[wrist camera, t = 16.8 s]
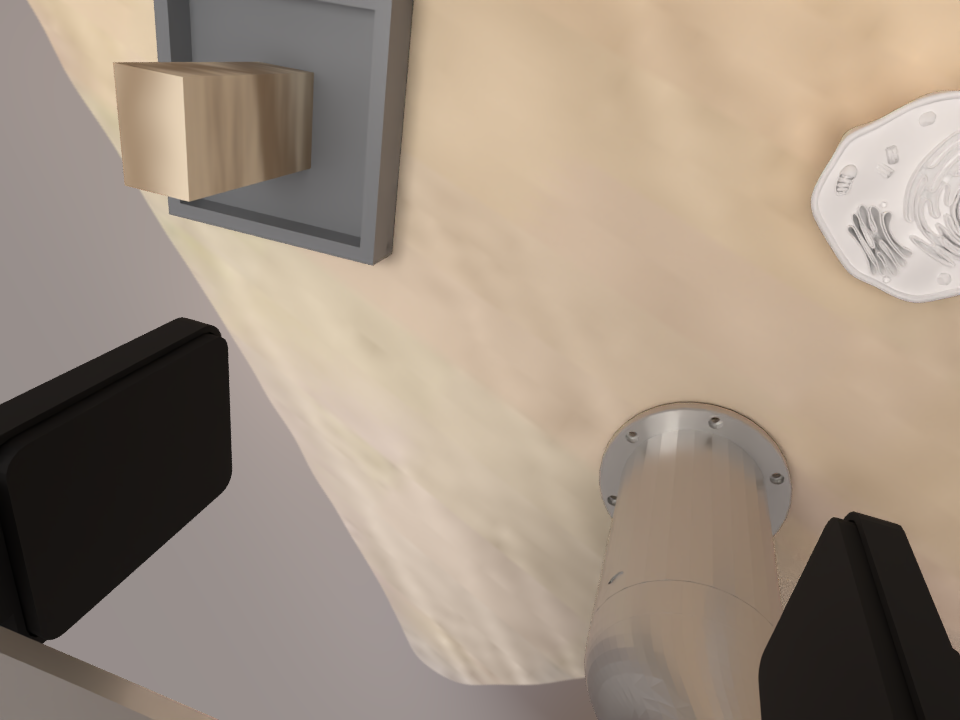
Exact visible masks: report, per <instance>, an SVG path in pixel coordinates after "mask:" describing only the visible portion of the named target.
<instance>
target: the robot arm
mask: <svg viewBox="0 0 960 720" xmlns="http://www.w3.org/2000/svg"><path fill="white" fill-rule="evenodd" d="M229 395H230V393H229V364H228V346H227V342H226V340H225V339H224V338H222V337H221V333H220V332H219V330H218V329H217V328H216V327H215V326H212V325H209V324H205V323H202V322H198V321H195V320H191V319H188V318H183V317H181V318H177V319H175V320H173V321H171V322H169V323H167V324H164V325H162V326H161V327H158V328H157V329H154V330H152V331H150V332H148V333H146V334H144V335H142V336H140V337H138V338H136V339H134V340H132V341H130V342H128V343H126V344H124V345H121V346H119V347H118V348H115V349H113V350H111V351H109V352H107V353H105V354H103V355H101V356H99V357H97V358H95V359H93V360H91V361H89V362H87V363H84V364H82V365H80V366H79V367H76V368H74V369H72V370H70V371H68V372H66V373H64V374H62V375H60V376H58V377H56V378H54V379H52V380H50V381H48V382H45V383H43V384H41V385H39V386H37V387H35V388H33V389H31V390H29V391H27V392H25V393H23V394H21V395H19V396H17V397H15V398H13V399H11V400H9V401H7V402H4V403H3V404H1V405H0V720H218V719H216V718H213V717H211V716H209V715H207V714H204V713H202V712H200V711H197V710H195V709H193V708H190V707H188V706H186V705H183V704H181V703H179V702H177V701H174V700H172V699H169V698H167V697H165V696H163V695H161V694H158V693H156V692H153V691H151V690H149V689H147V688H144V687H142V686H140V685H137V684H135V683H132V682H130V681H128V680H126V679H123V678H121V677H119V676H116V675H114V674H112V673H109V672H107V671H105V670H102V669H100V668H98V667H95V666H93V665H91V664H88V663H86V662H84V661H81V660H79V659H77V658H74V657H72V656H70V655H67V654H65V653H63V652H60V651H58V650H55V649H53V648H51V647H48V646H46V645H44V644H43V643H44V642H45V641H46V640H53V639H55V638H58V637H60V636H61V635H62V634H64V633H65V632H66V631H67V630H68V629H69V628H71V627H72V626H73V625H74V624H75V623H76V622H77V621H78V620H80V619H81V618H82V617H83V616H84V615H85V614H86V613H87V612H88V611H90V610H91V609H92V608H93V607H94V606H95V605H96V604H98V603H99V602H100V601H101V600H102V599H103V598H104V597H105V596H107V595H108V594H109V593H110V592H111V591H112V590H113V589H114V588H116V587H117V586H118V585H119V584H120V583H121V582H122V581H123V580H125V579H126V578H127V577H128V576H129V575H130V574H131V573H132V572H134V570H136V569H137V568H138V567H139V566H140V565H141V564H142V563H144V562H145V561H146V560H147V559H148V558H149V557H150V556H151V555H152V554H154V553H155V552H156V551H157V550H158V549H159V548H160V547H162V546H163V545H164V544H165V543H166V542H167V541H168V540H169V539H170V538H172V537H173V536H174V535H175V534H176V533H177V532H178V531H180V530H181V529H182V528H183V527H184V526H185V525H186V524H187V523H189V521H191V520H192V519H193V518H194V517H195V516H196V515H197V514H199V513H200V512H201V511H202V510H203V509H204V508H205V507H207V505H209V504H210V503H211V502H212V501H213V500H214V499H216V498H217V497H218V496H219V495H220V494H221V493H222V492H223V491H224V490H225V489H226V487H227V485H228V483H229V481H230V478H231V475H232V454H231V453H232V452H231V424H230V423H231V422H230V396H229ZM713 417H718V418H719V419H717V420H715V419H712V418H713ZM631 432H635V434H633V433H631ZM774 473H778V474H774ZM599 486H600V491H601V496H602V500H603V502H604V504H605V507H606V509H607V512H608V513H609V515H610V516H611V518H612V523H611V528H610V533H609V538H608V542H607V547H606V552H605V557H604V561H603V566H602V571H601V576H600V580H599V585H598V590H597V595H596V599H595V604H594V609H593V614H592V618H591V623H590V628H589V633H588V638H587V643H586V649H585V659H584V666H585V679H586V684H587V689H588V693H589V697H590V701H591V704H592V707H593V709H594V711H595V714H596V716H597V719H598V720H960V655H959V653H958V652H957V651H956V650H955V649H953V648H952V645H951V643H950V641H949V638H948V636H947V633H946V631H945V629H944V626H943V624H942V621H941V619H940V616H939V614H938V612H937V609H936V607H935V604H934V602H933V600H932V597H931V595H930V592H929V590H928V587H927V585H926V583H925V580H924V578H923V575H922V573H921V570H920V568H919V566H918V563H917V561H916V558H915V556H914V554H913V551H912V549H911V546H910V544H909V541H908V539H907V537H906V534H905V532H904V530H903V528H902V527H901V526H900V525H898V524H895V523H892V522H888V521H885V520H881V519H878V518H874V517H871V516H867V515H864V514H861V513H857V512H854V511H853V512H850V513H849V514H848V515H847V516H846V517H845V518H844V520H843V519H839V518H836V517H833V518H831V519H830V520H829V521H828V523H827V524H826V526H825V528H824V530H823V532H822V534H821V536H820V538H819V540H818V542H817V544H816V546H815V548H814V550H813V552H812V554H811V556H810V559H809V561H808V563H807V565H806V567H805V569H804V571H803V573H802V575H801V577H800V579H799V581H798V583H797V585H796V587H795V589H794V591H793V593H792V595H791V597H790V599H789V601H788V603H787V605H786V607H785V609H784V611H782V604H781V596H780V589H779V581H778V574H777V566H776V559H775V551H774V544H773V536H774V535H775V534H776V533H777V532H778V531H779V529H780V528H781V526H782V524H783V523H784V521H785V519H786V518H787V515H788V511H789V508H790V505H791V495H792V485H791V479H790V473H789V470H788V467H787V464H786V461H785V458H784V456H783V454H782V453H781V451H780V449H779V448H778V446H777V444H776V443H775V442H774V441H773V440H772V439H771V437H770V436H769V435H768V434H767V433H766V432H765V431H764V430H763V429H762V428H760V427H759V426H758V425H756V424H755V423H754V422H752V421H751V420H749V419H748V418H746V417H744V416H742V415H740V414H738V413H736V412H734V411H731V410H728V409H725V408H722V407H718V406H715V405H709V404H702V403H673V404H668V405H662V406H658V407H655V408H653V409H650V410H647V411H645V412H642V413H640V414H639V415H637V416H635V417H634V418H632V419H630V420H629V421H628V422H626V423H625V424H624V425H623V426H622V427H621V428H620V429H619V430H618V431H617V432H616V433H615V435H614V436H613V437H612V439H611V440H610V442H609V443H608V445H607V448H606V450H605V453H604V455H603V458H602V463H601V467H600V476H599Z"/></svg>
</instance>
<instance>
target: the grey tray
mask: <svg viewBox="0 0 960 720" xmlns="http://www.w3.org/2000/svg"><path fill="white" fill-rule="evenodd" d="M154 11H155V25H156V39H157V53H158V62H263V63H268V64H273V65H278V66H283V67H288V68H293V69H298V70H303V71H308V72H313V73H314V85H313V116H312V147H311V168H310V169H307V170H303V171H299V172H296V173H292V174H288V175H285V176H281V177H277V178H274V179H270V180H266V181H263V182H259V183H256V184H252V185H248V186H245V187H241V188H237V189H234V190H230V191H226V192H223V193H219V194H215V195H212V196H208V197H204V198H201V199H197V200H194V201H190V202H188V201H184V200H180V199H176V198H172V197H169V196H168V205H169V214H171V215H175V216H179V217H183V218H187V219H190V220H194V221H198V222H202V223H206V224H210V225H214V226H218V227H222V228H226V229H230V230H234V231H238V232H242V233H246V234H250V235H254V236H258V237H262V238H266V239H270V240H274V241H278V242H281V243H285V244H289V245H293V246H297V247H301V248H305V249H309V250H313V251H317V252H321V253H325V254H329V255H333V256H337V257H341V258H345V259H349V260H353V261H357V262H361V263H365V264H368V265H372V266H373V265H374V264H376V263H378V262H379V261H381V260H383V259H384V258H386V257H388V256H389V255H391V254H392V244H393V232H394V221H395V209H396V197H397V186H398V174H399V162H400V151H401V139H402V127H403V116H404V104H405V92H406V81H407V69H408V57H409V46H410V34H411V22H412V11H413V0H154Z"/></svg>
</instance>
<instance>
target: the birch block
mask: <svg viewBox="0 0 960 720" xmlns="http://www.w3.org/2000/svg"><path fill="white" fill-rule="evenodd" d="M113 67H114V77H115V88H116V98H117V109H118V119H119V130H120V140H121V151H122V161H123V172H124V182H125V185H126V186H129V187H133V188H137V189H141V190H145V191H149V192H153V193H157V194H161V195H165V196H169V197H172V198H176V199H180V200H184V201H188V202H190V201H194V200H197V199H201V198H204V197H208V196H212V195H215V194H219V193H223V192H226V191H230V190H234V189H237V188H241V187H245V186H248V185H252V184H256V183H259V182H263V181H266V180H270V179H274V178H277V177H281V176H285V175H288V174H292V173H296V172H299V171H303V170H307V169H310V168H311V147H312V116H313V85H314V73H313V72H308V71H303V70H298V69H293V68H288V67H283V66H278V65H273V64H268V63H263V62H123V63H113Z"/></svg>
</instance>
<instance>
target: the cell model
mask: <svg viewBox="0 0 960 720" xmlns="http://www.w3.org/2000/svg"><path fill="white" fill-rule="evenodd" d="M811 210H812V213H813V216H814V219H815V221H816V223H817V225H818V227H819V229H820V230H821V232H822V234H823V235H824V237H825V239H826V240H827V242H828V244H829V245H830V247H831V248H832V250H833V252H834V253H835V255H836V256H837V258H838V259H839V261H840V262H841V264H842V265H843V267H844V268H845V269H846V270H847V271H848V272H849V273H850V274H851V275H852V276H854V277H855V278H857V279H859V280H861V281H863V282H866V283H868V284H870V285H873V286H875V287H877V288H878V289H880V290H882V291H884V292H886V293H888V294H890V295H892V296H894V297H896V298H898V299H901V300H904V301H908V302H913V303H925V302H930V301H935V300H940V299H945V298H949V297H953V296H958V295H960V91H955V90H949V91H936V92H932V93H928V94H925V95H923V96H921V97H918V98H917V99H915V100H913V101H911V102H909V103H908V104H906V105H905V106H902V107H900V108H898V109H896V110H895V111H893V112H891V113H889V114H888V115H886V116H884V117H882V118H879V119H877V120H875V121H872V122H869V123H866V124H863V125H860V126H857V127H854V128H852V129H850V130H848V131H847V132H846V133H845V134H844V136H843V137H842V139H841V141H840V143H839V145H838V147H837V149H836V151H835V152H834V154H833V156H832V158H831V159H830V161H829V163H828V164H827V166H826V167H825V169H824V171H823V172H822V174H821V176H820V177H819V179H818V181H817V183H816V185H815V188H814V190H813V193H812V197H811Z"/></svg>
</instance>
